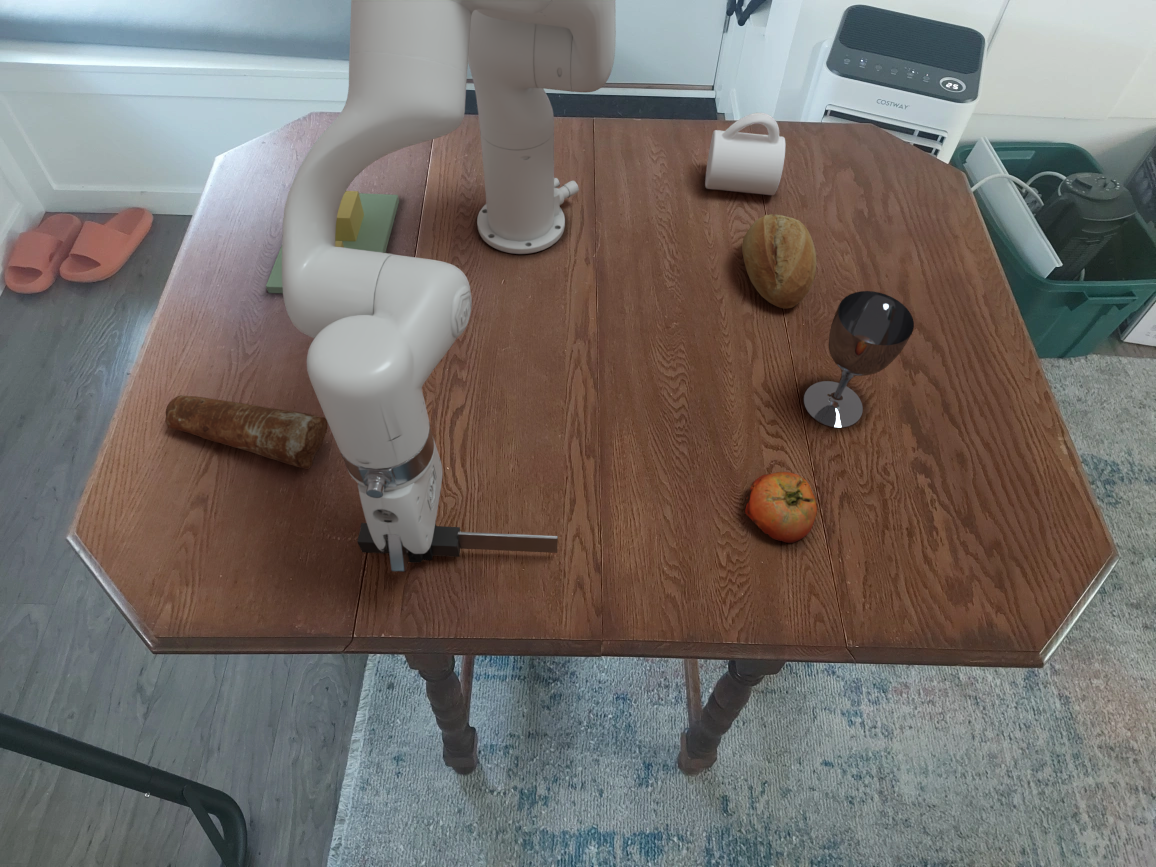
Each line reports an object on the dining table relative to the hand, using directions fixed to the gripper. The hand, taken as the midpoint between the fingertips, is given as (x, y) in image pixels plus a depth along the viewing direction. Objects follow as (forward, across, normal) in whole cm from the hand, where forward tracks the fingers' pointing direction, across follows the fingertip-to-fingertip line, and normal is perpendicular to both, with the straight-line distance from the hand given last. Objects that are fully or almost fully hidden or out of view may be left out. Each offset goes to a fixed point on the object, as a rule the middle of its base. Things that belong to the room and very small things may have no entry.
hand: (419, 543), depth 78 cm
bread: (+2, +13, +22) cm, 25 cm away
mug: (+2, +64, -39) cm, 75 cm away
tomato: (+2, +6, -38) cm, 39 cm away
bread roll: (+2, +44, -42) cm, 61 cm away
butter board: (+2, +47, +19) cm, 50 cm away
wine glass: (+2, +22, -47) cm, 52 cm away
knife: (0, 0, -4) cm, 4 cm away
